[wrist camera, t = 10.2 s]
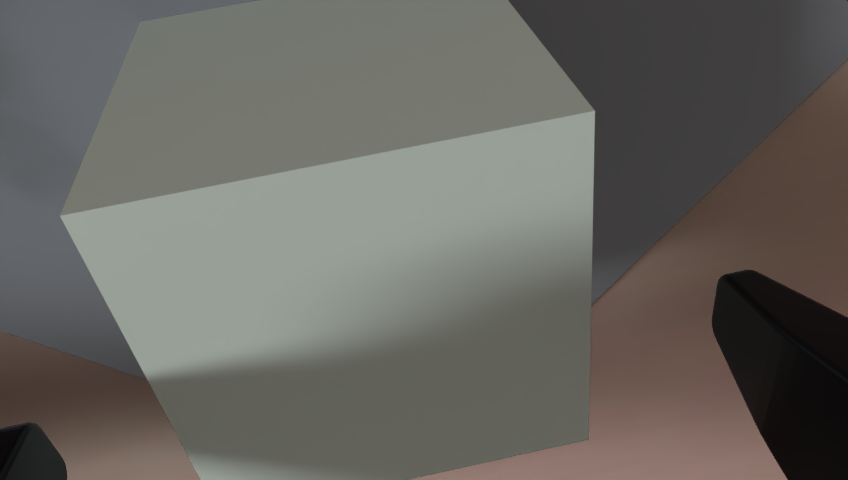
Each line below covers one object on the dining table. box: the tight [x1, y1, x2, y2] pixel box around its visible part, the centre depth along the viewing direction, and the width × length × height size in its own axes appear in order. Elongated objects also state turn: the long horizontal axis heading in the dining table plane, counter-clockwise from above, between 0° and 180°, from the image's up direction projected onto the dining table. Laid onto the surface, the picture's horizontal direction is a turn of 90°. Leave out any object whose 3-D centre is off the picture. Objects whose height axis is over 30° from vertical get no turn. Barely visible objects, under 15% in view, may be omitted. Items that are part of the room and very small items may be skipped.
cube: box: [60, 0, 595, 480], centre depth 12 cm, size 6×6×6 cm
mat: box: [0, 0, 848, 380], centre depth 15 cm, size 16×16×1 cm
